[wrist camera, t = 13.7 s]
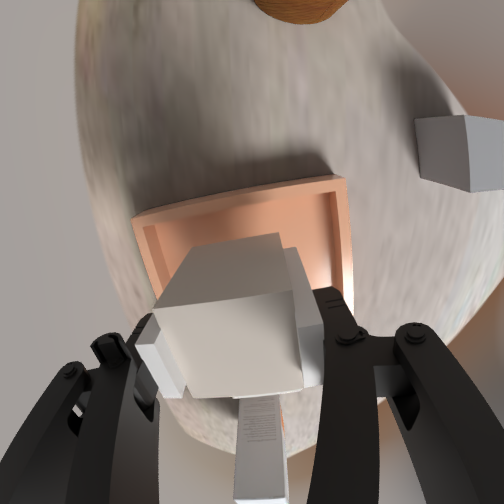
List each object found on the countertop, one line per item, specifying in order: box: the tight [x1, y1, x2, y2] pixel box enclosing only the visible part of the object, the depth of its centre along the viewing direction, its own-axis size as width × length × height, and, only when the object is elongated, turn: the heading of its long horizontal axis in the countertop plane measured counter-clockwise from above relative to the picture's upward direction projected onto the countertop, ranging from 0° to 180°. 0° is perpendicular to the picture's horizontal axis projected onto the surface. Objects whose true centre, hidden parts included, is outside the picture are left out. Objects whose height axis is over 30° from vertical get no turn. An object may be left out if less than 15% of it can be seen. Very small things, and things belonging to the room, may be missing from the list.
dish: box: [131, 174, 353, 315], centre depth 19 cm, size 13×13×2 cm
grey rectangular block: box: [414, 115, 504, 193], centre depth 13 cm, size 4×4×6 cm
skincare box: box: [233, 394, 289, 504], centre depth 21 cm, size 6×4×12 cm
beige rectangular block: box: [152, 232, 304, 398], centre depth 12 cm, size 4×4×6 cm
